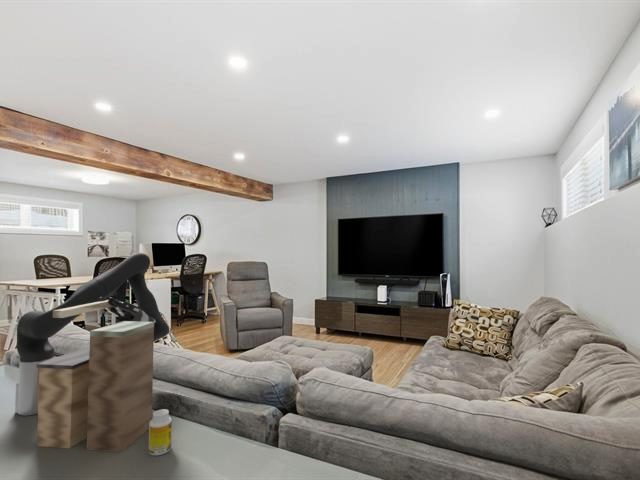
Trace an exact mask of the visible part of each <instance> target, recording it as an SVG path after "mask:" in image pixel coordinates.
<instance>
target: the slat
mask: <svg viewBox="0 0 640 480" xmlns="http://www.w3.org/2000/svg"><path fill="white" fill-rule="evenodd" d="M108 300H109V299H106V300H105V301H99V302H94V303H89V304H84V305H79V306H74V307H69V308H63V309H58V310H53V318H65V317H69V316H74V315H78V314H81V315H82V313H83V314H86V313H90V312H95V311H99V310H100V309H105V308H109V307H113V306H111V305H110V304H108ZM100 311H101V310H100Z"/></svg>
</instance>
